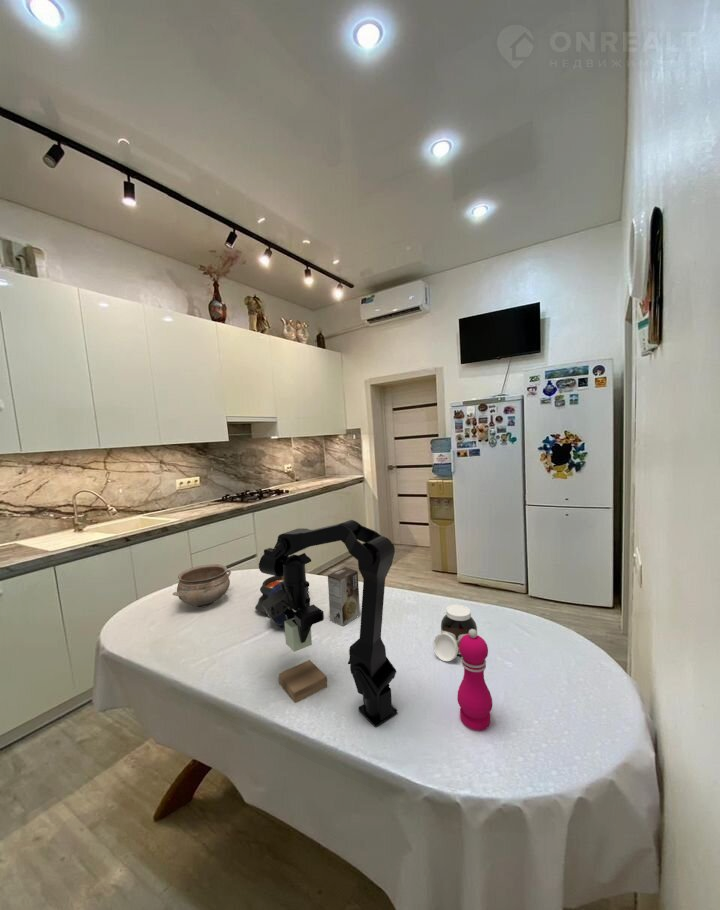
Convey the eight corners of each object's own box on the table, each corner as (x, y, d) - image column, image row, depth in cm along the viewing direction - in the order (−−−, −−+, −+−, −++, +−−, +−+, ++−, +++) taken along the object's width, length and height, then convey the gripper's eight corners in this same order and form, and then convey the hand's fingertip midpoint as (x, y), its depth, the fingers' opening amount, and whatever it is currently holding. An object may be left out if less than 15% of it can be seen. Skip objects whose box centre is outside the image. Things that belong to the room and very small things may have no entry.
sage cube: (311, 644, 93) (310, 621, 93) (294, 652, 90) (292, 628, 90) (303, 636, 97) (301, 615, 97) (285, 643, 94) (284, 621, 94)
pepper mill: (485, 705, 82) (483, 620, 81) (498, 731, 74) (496, 637, 73) (453, 708, 81) (451, 621, 80) (464, 734, 74) (461, 639, 73)
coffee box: (346, 610, 129) (344, 566, 129) (360, 615, 125) (358, 570, 125) (329, 621, 122) (326, 574, 122) (343, 626, 118) (340, 578, 118)
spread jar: (477, 644, 106) (476, 605, 105) (479, 668, 95) (477, 625, 94) (435, 639, 109) (434, 602, 108) (432, 662, 98) (431, 620, 97)
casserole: (280, 586, 153) (279, 567, 153) (319, 591, 147) (318, 571, 147) (242, 614, 130) (241, 591, 129) (288, 621, 123) (286, 597, 123)
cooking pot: (215, 586, 156) (214, 559, 155) (246, 594, 146) (245, 565, 146) (159, 612, 134) (157, 580, 134) (191, 623, 125) (189, 588, 124)
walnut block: (327, 688, 90) (326, 676, 90) (294, 705, 85) (294, 692, 85) (310, 670, 97) (309, 659, 97) (279, 684, 92) (278, 673, 92)
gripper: (251, 577, 96) (255, 634, 96) (279, 600, 81) (284, 668, 81) (290, 567, 102) (293, 620, 103) (323, 586, 87) (326, 649, 88)
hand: (298, 638), depth 93 cm, fingers closed on sage cube, 5 cm apart
